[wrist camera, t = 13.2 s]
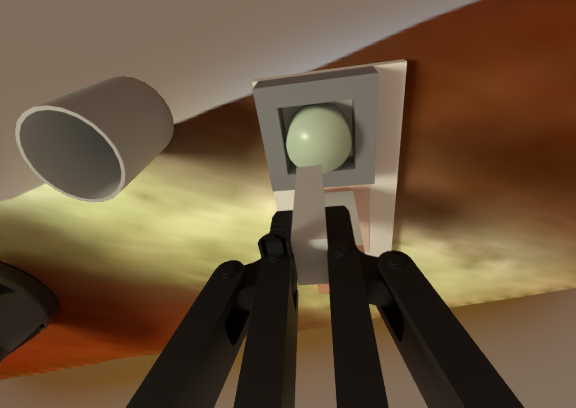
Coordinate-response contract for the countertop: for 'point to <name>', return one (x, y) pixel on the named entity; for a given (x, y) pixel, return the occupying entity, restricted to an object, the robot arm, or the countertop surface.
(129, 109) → the cup
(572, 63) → the countertop surface
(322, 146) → the button
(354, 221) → the grey and orange block
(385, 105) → the board
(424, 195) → the countertop surface
